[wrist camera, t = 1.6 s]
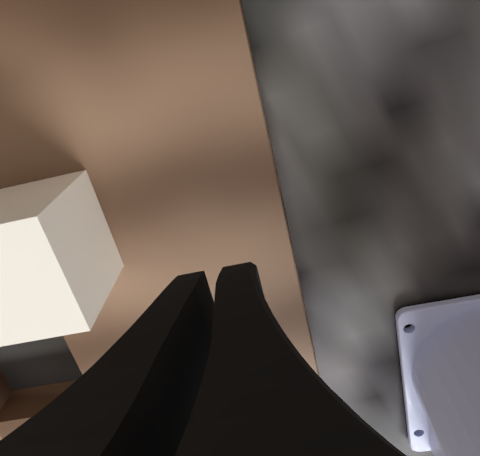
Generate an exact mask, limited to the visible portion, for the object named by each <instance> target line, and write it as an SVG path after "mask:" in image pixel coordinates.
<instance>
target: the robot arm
mask: <svg viewBox="0 0 480 456" xmlns="http://www.w3.org/2000/svg"><path fill="white" fill-rule="evenodd" d="M395 320H396V329H397V338H398V348H399V357H400V366H401V376H402V385H403V394H404V404H405V413H406V422H407V432H408V441H409V444H410V447H411V449H412V450H414V451H417V452H421V451H429V450H432V453H433V455H434V456H480V294H478V295H472V296H466V297H461V298H455V299H449V300H443V301H437V302H431V303H425V304H419V305H413V306H407V307H403V308H401V309H399V310H398V311H397V313H396V315H395ZM408 324H412V325H411V326H410V327H408V328H404V327H405V326H406V325H408ZM0 456H406V455H405V454H403V453H402V452H401V451H400V450H398V449H397V448H396V447H394V446H393V445H392V444H391V443H390V442H388V441H387V440H386V439H385V438H384V437H383V436H381V435H380V434H379V433H378V432H377V431H375V430H374V429H373V428H372V427H371V426H370V425H368V424H367V423H366V422H365V421H364V420H363V419H362V418H361V417H360V416H359V415H358V414H356V413H355V412H354V411H353V410H352V409H351V408H350V407H349V406H348V405H347V404H346V403H345V402H344V401H343V400H342V399H341V398H340V397H339V396H338V395H337V394H336V393H335V392H334V391H333V390H331V389H330V388H329V386H328V385H327V384H326V383H325V382H324V381H323V380H322V379H321V378H320V377H319V375H318V374H317V373H316V372H315V371H314V370H313V369H312V368H311V366H310V365H309V364H308V363H307V362H306V360H305V359H304V358H303V357H302V356H301V354H300V353H299V352H298V350H297V349H296V348H295V346H294V345H293V344H292V342H291V341H290V340H289V338H288V337H287V335H286V334H285V332H284V331H283V329H282V328H281V326H280V325H279V323H278V321H277V320H276V318H275V317H274V315H273V313H272V311H271V309H270V307H269V305H268V304H267V302H266V300H265V297H264V293H263V289H262V285H261V281H260V277H259V273H258V269H257V266H256V265H255V264H253V263H252V262H247V263H241V264H236V265H231V266H225V267H223V268H222V270H221V271H220V273H219V275H218V278H217V281H216V287H215V299H214V300H213V297H212V294H211V291H210V288H209V284H208V281H207V278H206V275H205V271H199V272H194V273H188V274H183V275H178V276H177V277H176V278H174V279H173V280H172V281H171V282H170V284H169V285H168V286H167V287H166V288H165V289H164V290H163V291H162V292H161V294H160V295H159V296H158V297H157V298H156V299H155V300H154V301H153V303H152V304H151V305H150V306H149V307H148V308H147V309H146V310H145V311H144V313H143V314H142V315H141V316H140V317H139V318H138V319H137V320H136V321H135V323H134V324H133V325H132V326H131V327H130V328H129V329H128V330H127V331H126V332H125V333H124V334H123V335H122V336H121V337H120V338H119V339H118V340H117V341H116V342H115V343H114V344H113V345H112V346H111V348H110V349H109V350H108V351H107V352H106V353H105V354H104V355H103V356H102V357H101V358H100V359H99V360H98V361H97V362H96V363H95V364H94V365H93V366H91V367H90V368H89V369H88V370H87V371H86V372H85V373H84V374H83V375H82V376H81V377H80V378H78V379H77V380H76V381H75V382H74V383H73V384H72V385H71V386H69V387H68V388H67V389H66V390H65V391H63V392H62V393H61V394H60V395H59V396H58V397H56V398H55V399H54V400H53V401H52V402H50V403H49V404H48V405H47V406H45V407H44V408H43V409H42V410H40V411H39V412H38V413H37V414H35V415H34V416H33V417H31V418H30V419H28V420H27V421H26V422H24V423H23V424H22V425H20V426H19V427H18V428H16V429H15V430H14V431H12V432H11V433H10V434H8V435H7V436H6V437H4V438H3V439H2V440H0Z"/></svg>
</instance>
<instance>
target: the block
mask: <svg viewBox="0 0 480 456" xmlns="http://www.w3.org/2000/svg"><path fill="white" fill-rule="evenodd" d="M123 266H124V264H123V262H122V259H121V257H120V254H119V252H118V249H117V247H116V244H115V242H114V239H113V237H112V234H111V232H110V229H109V227H108V224H107V221H106V219H105V216H104V214H103V211H102V209H101V206H100V204H99V201H98V199H97V196H96V194H95V191H94V189H93V186H92V184H91V181H90V179H89V176H88V174H87V171H86V170H83V171H78V172H74V173H69V174H65V175H61V176H56V177H52V178H47V179H43V180H38V181H34V182H29V183H25V184H21V185H16V186H12V187H7V188H3V189H0V347H2V346H8V345H13V344H19V343H25V342H30V341H36V340H42V339H47V338H53V337H59V336H64V335H70V334H75V333H81V332H87V331H91V329H92V327H93V325H94V323H95V321H96V319H97V317H98V315H99V313H100V311H101V309H102V307H103V305H104V303H105V301H106V299H107V297H108V295H109V294H110V292H111V290H112V288H113V286H114V284H115V282H116V280H117V278H118V276H119V274H120V272H121V270H122V268H123Z"/></svg>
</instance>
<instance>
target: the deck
mask: <svg viewBox="0 0 480 456" xmlns="http://www.w3.org/2000/svg"><path fill="white" fill-rule="evenodd" d="M83 170H86V171H87V174H88V176H89V179H90V181H91V184H92V186H93V189H94V191H95V194H96V196H97V199H98V201H99V204H100V206H101V209H102V211H103V214H104V216H105V219H106V221H107V224H108V227H109V229H110V232H111V234H112V237H113V239H114V242H115V244H116V247H117V249H118V252H119V254H120V257H121V259H122V262H123V264H124V266H123V268H122V270H121V272H120V274H119V276H118V278H117V280H116V282H115V284H114V286H113V288H112V290H111V292H110V294H109V295H108V297H107V299H106V301H105V303H104V305H103V307H102V309H101V311H100V313H99V315H98V317H97V319H96V321H95V323H94V325H93V327H92V329H91V331H87V332H81V333H75V334H70V335H64V336H59V337H53V338H47V339H42V340H36V341H30V342H25V343H19V344H13V345H8V346H2V347H0V440H2V439H3V438H4V437H6V436H7V435H8V434H10V433H11V432H12V431H14V430H15V429H16V428H18V427H19V426H20V425H22V424H23V423H24V422H26V421H27V420H28V419H30V418H31V417H33V416H34V415H35V414H37V413H38V412H39V411H40V410H42V409H43V408H44V407H45V406H47V405H48V404H49V403H50V402H52V401H53V400H54V399H55V398H56V397H58V396H59V395H60V394H61V393H62V392H63V391H65V390H66V389H67V388H68V387H69V386H71V385H72V384H73V383H74V382H75V381H76V380H77V379H78V378H80V377H81V376H82V375H83V374H84V373H85V372H86V371H87V370H88V369H89V368H90V367H91V366H93V365H94V364H95V363H96V362H97V361H98V360H99V359H100V358H101V357H102V356H103V355H104V354H105V353H106V352H107V351H108V350H109V349H110V348H111V346H112V345H113V344H114V343H115V342H116V341H117V340H118V339H119V338H120V337H121V336H122V335H123V334H124V333H125V332H126V331H127V330H128V329H129V328H130V327H131V326H132V325H133V324H134V323H135V321H136V320H137V319H138V318H139V317H140V316H141V315H142V314H143V313H144V311H145V310H146V309H147V308H148V307H149V306H150V305H151V304H152V303H153V301H154V300H155V299H156V298H157V297H158V296H159V295H160V294H161V292H162V291H163V290H164V289H165V288H166V287H167V286H168V285H169V284H170V282H171V281H172V280H173V279H174V278H176V277H177V276H178V275H183V274H188V273H194V272H199V271H205V275H206V278H207V281H208V284H209V288H210V291H211V294H212V297H213V300H214V299H215V287H216V281H217V278H218V275H219V273H220V271H221V270H222V268H223V267H225V266H231V265H236V264H241V263H247V262H252V263H253V264H255V265H256V266H257V269H258V273H259V277H260V281H261V285H262V289H263V293H264V297H265V300H266V302H267V304H268V305H269V307H270V309H271V311H272V313H273V315H274V317H275V318H276V320H277V321H278V323H279V325H280V326H281V328H282V329H283V331H284V332H285V334H286V335H287V337H288V338H289V340H290V341H291V342H292V344H293V345H294V346H295V348H296V349H297V350H298V352H299V353H300V354H301V356H302V357H303V358H304V359H305V360H306V362H307V363H308V364H309V365H310V366H311V368H312V369H313V370H314V371H315V372H316V373H317V374H318V375H319V373H318V368H317V362H316V357H315V352H314V347H313V342H312V338H311V333H310V328H309V323H308V318H307V314H306V309H305V304H304V299H303V295H302V290H301V285H300V280H299V275H298V271H297V266H296V261H295V256H294V252H293V247H292V242H291V237H290V232H289V228H288V223H287V218H286V213H285V209H284V204H283V199H282V194H281V189H280V185H279V180H278V175H277V170H276V166H275V161H274V156H273V151H272V146H271V142H270V137H269V132H268V127H267V123H266V118H265V113H264V108H263V103H262V99H261V94H260V89H259V84H258V79H257V75H256V70H255V65H254V60H253V56H252V51H251V46H250V41H249V36H248V32H247V27H246V22H245V17H244V13H243V8H242V3H241V0H0V189H3V188H7V187H12V186H16V185H21V184H25V183H29V182H34V181H38V180H43V179H47V178H52V177H56V176H61V175H65V174H69V173H74V172H78V171H83Z"/></svg>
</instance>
